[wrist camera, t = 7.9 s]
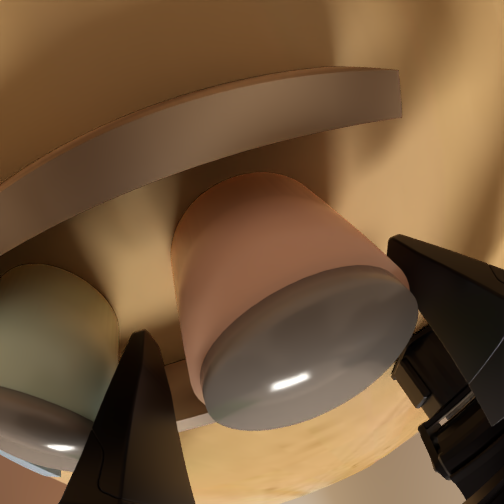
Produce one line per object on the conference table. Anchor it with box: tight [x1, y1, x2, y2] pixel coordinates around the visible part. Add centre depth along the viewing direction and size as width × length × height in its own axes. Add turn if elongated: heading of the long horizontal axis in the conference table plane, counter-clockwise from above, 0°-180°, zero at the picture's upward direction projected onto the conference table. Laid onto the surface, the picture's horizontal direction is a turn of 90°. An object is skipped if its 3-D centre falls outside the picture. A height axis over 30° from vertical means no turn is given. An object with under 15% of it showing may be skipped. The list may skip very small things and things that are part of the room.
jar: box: [171, 172, 418, 431], centre depth 8 cm, size 6×6×5 cm
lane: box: [0, 66, 402, 432], centre depth 8 cm, size 27×11×4 cm, turn 102°
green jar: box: [0, 264, 119, 472], centre depth 7 cm, size 6×6×5 cm
